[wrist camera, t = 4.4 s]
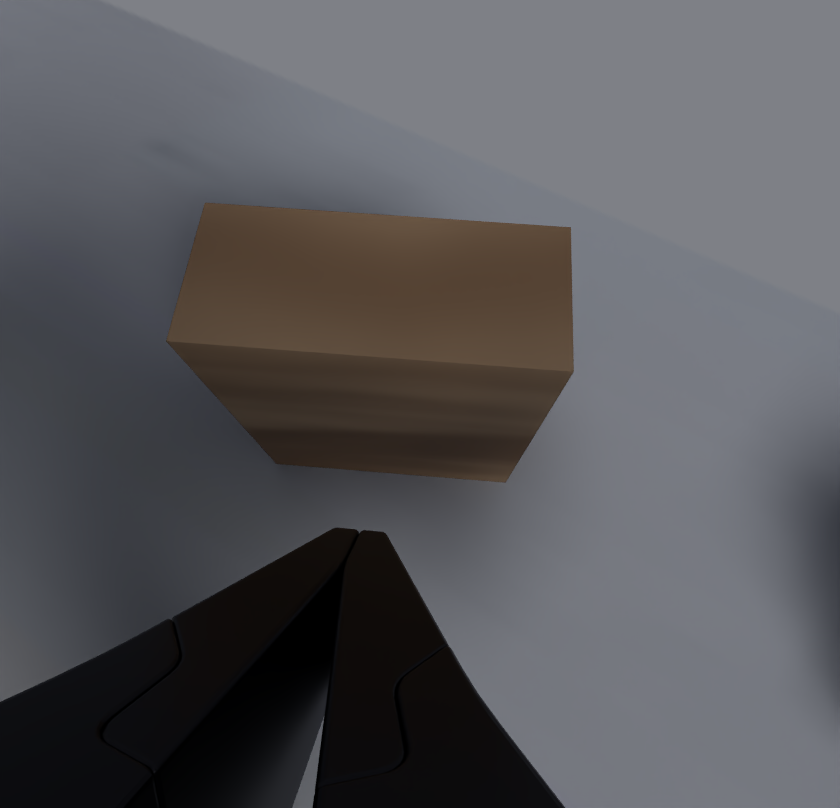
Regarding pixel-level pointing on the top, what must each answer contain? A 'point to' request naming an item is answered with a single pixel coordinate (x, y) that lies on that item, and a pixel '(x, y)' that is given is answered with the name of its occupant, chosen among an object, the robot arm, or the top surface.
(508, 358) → the walnut block
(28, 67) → the top surface
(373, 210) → the top surface
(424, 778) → the robot arm
